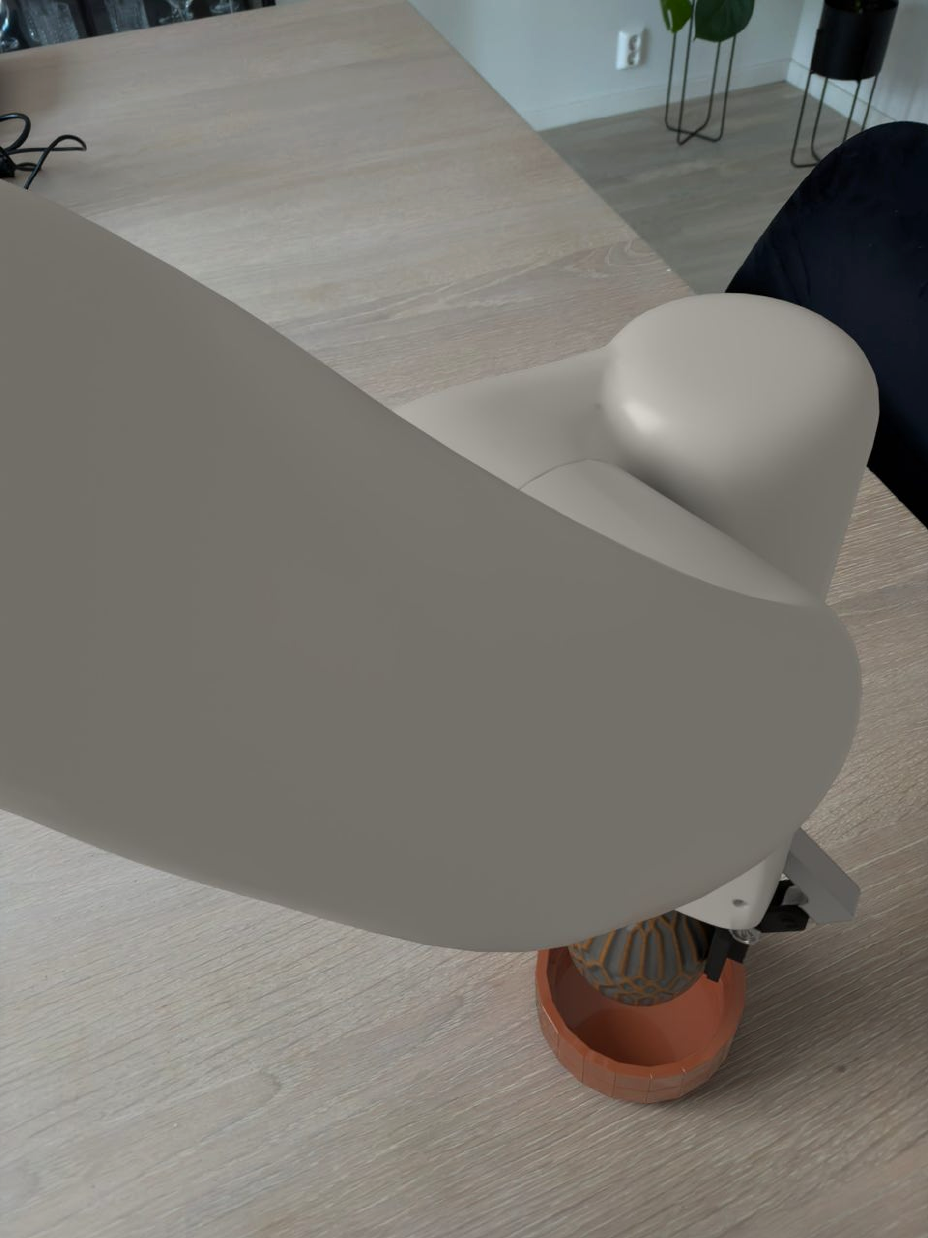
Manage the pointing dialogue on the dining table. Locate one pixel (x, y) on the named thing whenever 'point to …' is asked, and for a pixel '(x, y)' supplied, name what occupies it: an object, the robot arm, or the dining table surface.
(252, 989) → the dining table surface
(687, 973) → the vase
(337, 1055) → the dining table surface
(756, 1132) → the dining table surface
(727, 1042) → the bowl
